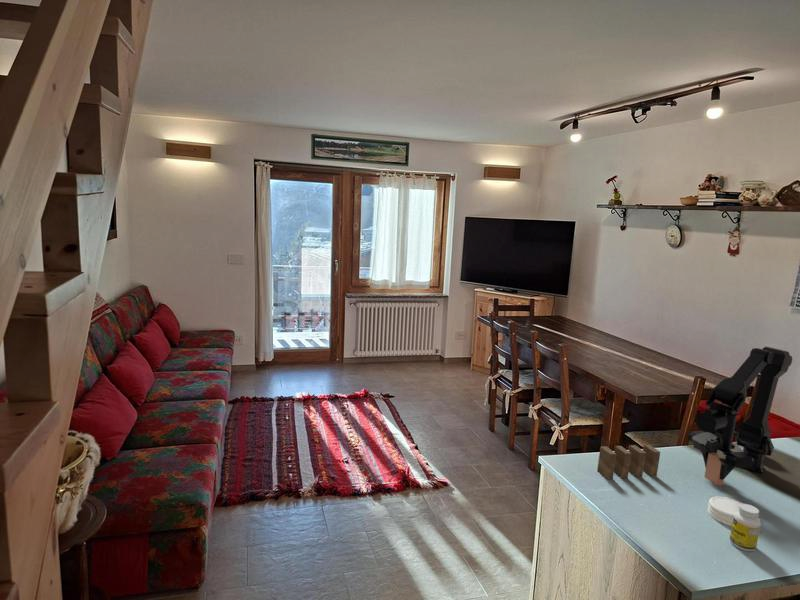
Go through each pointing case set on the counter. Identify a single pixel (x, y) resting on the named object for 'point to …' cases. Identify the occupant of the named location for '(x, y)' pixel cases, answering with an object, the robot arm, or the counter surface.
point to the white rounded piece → (723, 509)
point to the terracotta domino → (714, 468)
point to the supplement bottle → (745, 528)
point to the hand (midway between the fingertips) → (714, 474)
